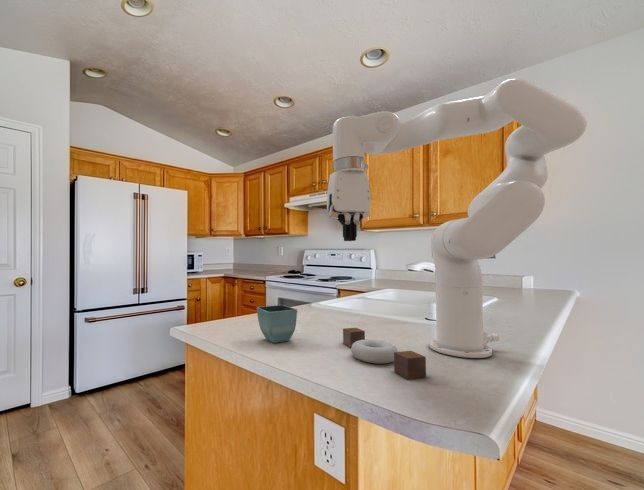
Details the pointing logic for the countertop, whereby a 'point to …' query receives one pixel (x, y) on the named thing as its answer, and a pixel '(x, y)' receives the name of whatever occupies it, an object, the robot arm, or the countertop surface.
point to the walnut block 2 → (410, 364)
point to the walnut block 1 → (352, 336)
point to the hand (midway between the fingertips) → (349, 240)
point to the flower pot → (277, 322)
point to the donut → (374, 351)
